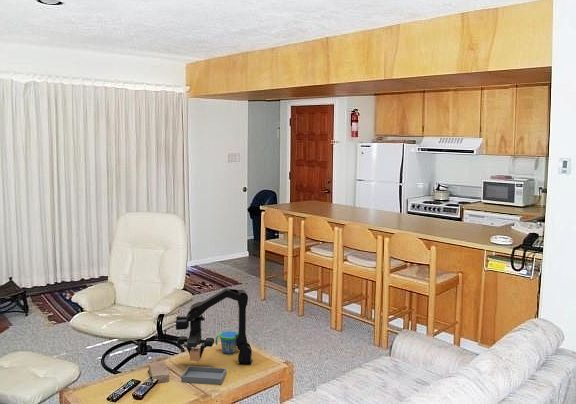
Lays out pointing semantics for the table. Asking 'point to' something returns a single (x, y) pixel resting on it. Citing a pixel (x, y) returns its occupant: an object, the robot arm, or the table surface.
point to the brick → (159, 371)
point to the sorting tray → (204, 375)
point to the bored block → (195, 354)
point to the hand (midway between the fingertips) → (195, 356)
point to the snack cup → (227, 341)
